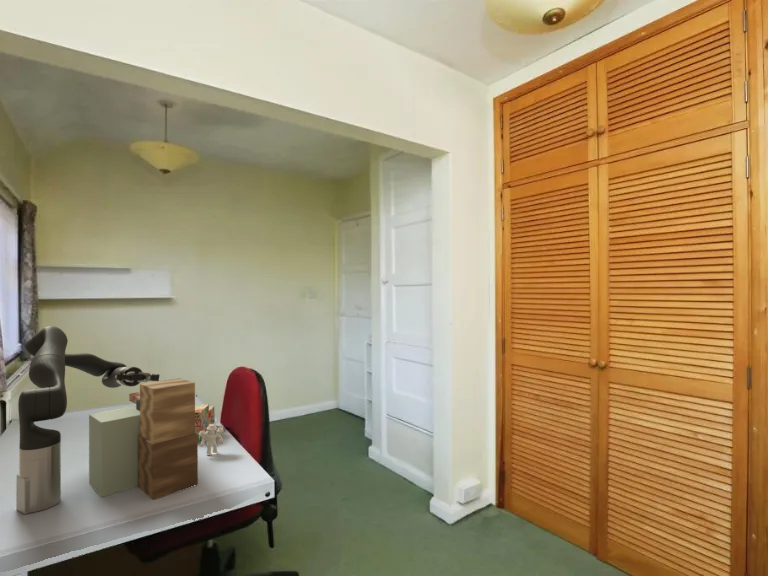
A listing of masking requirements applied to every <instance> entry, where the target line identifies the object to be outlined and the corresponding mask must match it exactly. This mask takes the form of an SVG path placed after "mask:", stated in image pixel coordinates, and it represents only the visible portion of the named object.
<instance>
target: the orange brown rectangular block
mask: <svg viewBox="0 0 768 576" xmlns="http://www.w3.org/2000/svg"><path fill="white" fill-rule="evenodd" d="M128 401H129V402H131V403H133V404H135V406H136V409H137V410H139V411H140V391H139V392H132V393H129V394H128Z"/></svg>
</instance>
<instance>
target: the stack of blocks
mask: <svg viewBox="0 0 768 576" xmlns="http://www.w3.org/2000/svg"><path fill="white" fill-rule="evenodd" d="M215 417H216V414H215V406H214V405H209V404H205V403H204V404H195V433H197V435H198V442H202V441H201V440H202V439H203V438H202V437H204V436H202V437H201V436H199V433H200V431H205V433H206V431H207V430H208V429H207V427H208V426H209V424H214V422H216V421H215V420H216V418H215ZM199 437H200V438H199Z"/></svg>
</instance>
